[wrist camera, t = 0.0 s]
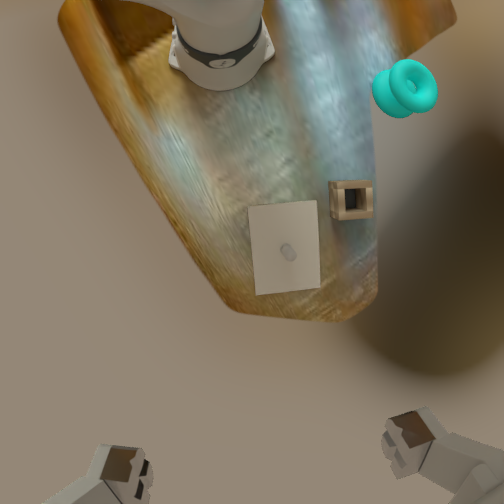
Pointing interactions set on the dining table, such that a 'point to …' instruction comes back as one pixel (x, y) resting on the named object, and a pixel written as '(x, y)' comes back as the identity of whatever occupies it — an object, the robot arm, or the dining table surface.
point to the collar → (362, 199)
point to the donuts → (405, 89)
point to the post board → (281, 232)
